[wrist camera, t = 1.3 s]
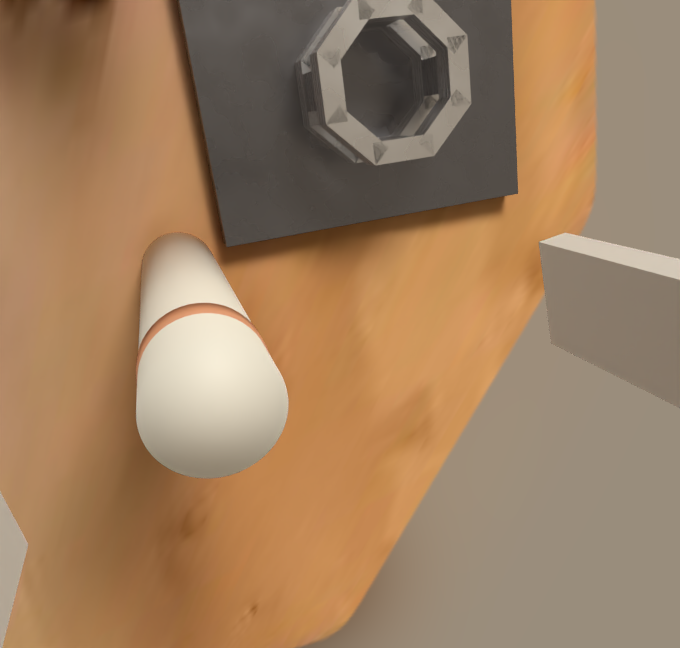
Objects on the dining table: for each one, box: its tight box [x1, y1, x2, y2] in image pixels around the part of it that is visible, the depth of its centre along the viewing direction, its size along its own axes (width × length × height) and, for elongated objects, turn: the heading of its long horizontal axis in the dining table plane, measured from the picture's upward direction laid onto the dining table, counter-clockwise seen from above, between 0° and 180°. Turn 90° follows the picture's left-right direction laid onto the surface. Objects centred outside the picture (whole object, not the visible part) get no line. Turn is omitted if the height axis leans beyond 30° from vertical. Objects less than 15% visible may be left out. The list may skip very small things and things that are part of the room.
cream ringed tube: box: [136, 232, 288, 478], centre depth 28 cm, size 4×4×22 cm
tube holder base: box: [177, 0, 518, 247], centre depth 35 cm, size 20×16×6 cm
